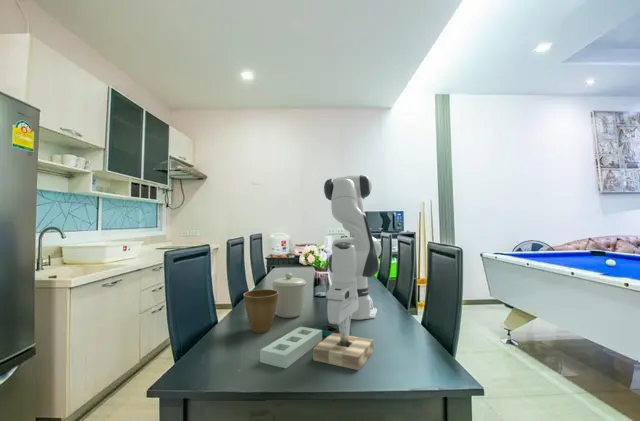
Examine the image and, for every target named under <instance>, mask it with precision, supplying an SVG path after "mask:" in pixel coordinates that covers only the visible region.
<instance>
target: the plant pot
mask: <svg viewBox="0 0 640 421" xmlns="http://www.w3.org/2000/svg"><path fill="white" fill-rule="evenodd" d="M277 300H278V291H276V290H273V289H269V288H268V289H266V288H265V289H264V288H263V289H262V288H261V289H254V290H250V291H246V292H244V293H243V302H244V308H245V312H246V315H247V319H248V321H249V322H248V323H249V324H250V327H251V330H252V332H253V333H256V334H264V333H267V332H269V331H270V330H271V328H272V324H273V322H274V318H275V315H276V313H275V311H276V306H277Z"/></svg>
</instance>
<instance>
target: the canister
mask: <svg viewBox="0 0 640 421" xmlns="http://www.w3.org/2000/svg"><path fill="white" fill-rule="evenodd" d="M270 284H271V287H272V288H271V290H276V291H278V300H277V306H276V311H275V315H276V316H278V317H280V318H284V319H292V318H297V317H299V316H301V314H302V313H303V308H304V301H305V292H306V285H307V281H306V280H305V279H303V278H300V277H293V273H291V272H287V273H286V274H285V277H279V278H276V279H273V281H271V282H270Z"/></svg>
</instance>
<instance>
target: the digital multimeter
mask: <svg viewBox="0 0 640 421" xmlns="http://www.w3.org/2000/svg"><path fill="white" fill-rule="evenodd" d="M314 329H318V330H322V337H325V338H327V337H328V336H329V335H331V334H332V333H336V334H340V332H339V327H337V326H333V325H330V324H326V323H323V324H319V325H318V326H316V327H315V328H314ZM349 334H350V336H352V331H350V330H349Z"/></svg>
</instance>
